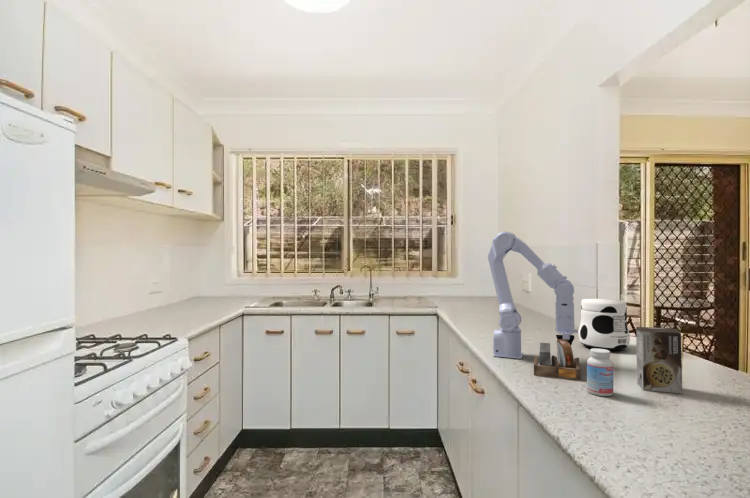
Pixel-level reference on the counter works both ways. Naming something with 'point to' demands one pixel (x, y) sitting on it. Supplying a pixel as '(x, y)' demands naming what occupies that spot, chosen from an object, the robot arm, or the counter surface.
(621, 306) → the milk container
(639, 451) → the counter surface
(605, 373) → the pill bottle
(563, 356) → the tin
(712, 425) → the counter surface
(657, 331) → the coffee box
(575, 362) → the rack
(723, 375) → the counter surface
